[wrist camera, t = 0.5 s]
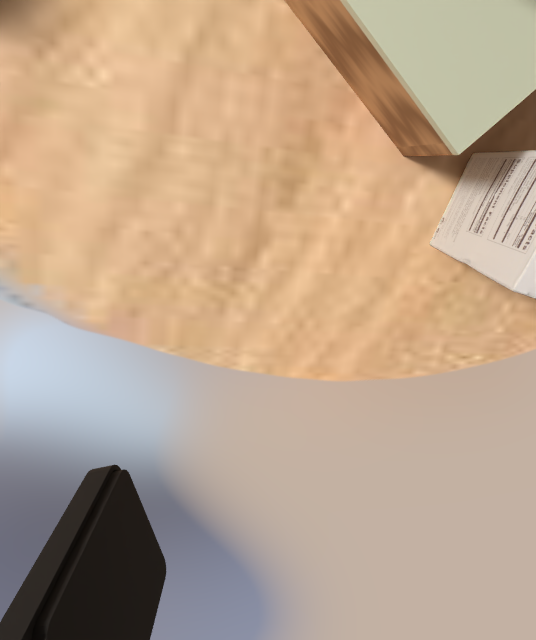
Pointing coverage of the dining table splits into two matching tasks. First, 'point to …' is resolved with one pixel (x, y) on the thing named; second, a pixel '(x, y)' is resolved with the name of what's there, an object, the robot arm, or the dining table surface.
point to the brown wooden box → (369, 76)
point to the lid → (455, 58)
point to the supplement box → (494, 219)
